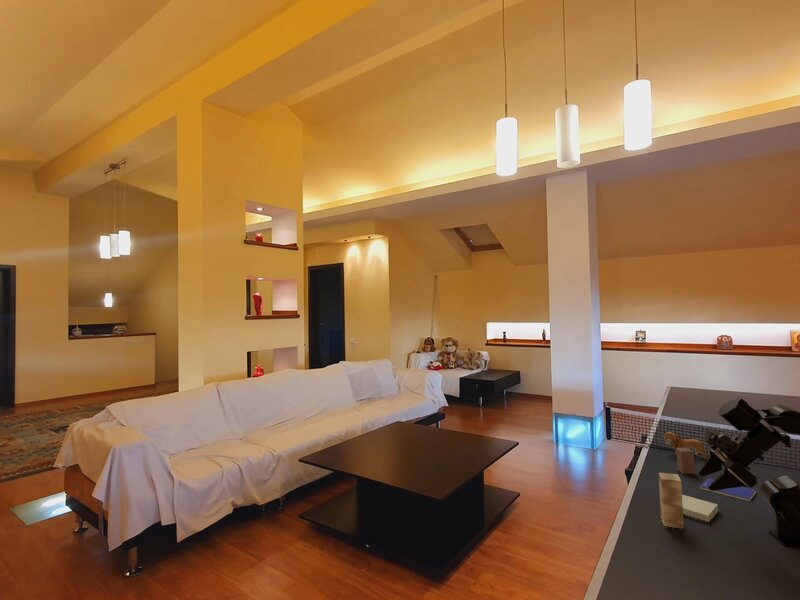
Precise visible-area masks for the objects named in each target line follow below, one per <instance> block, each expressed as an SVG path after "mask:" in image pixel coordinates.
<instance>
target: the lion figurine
mask: <svg viewBox="0 0 800 600" xmlns="http://www.w3.org/2000/svg"><path fill="white" fill-rule="evenodd" d="M663 439H664V440H663V441H664V443H666V445H668V446H670V448H673V449H674V450H675V452H673V454H674V455H676V448H688V449H690V450H691V449H694V452H695V453H694V454H695V455H696V456H697V455H698V454H701V455H702V457H704V458H706V459H707V457H708V456H709V454H707V451H706V449H705V446H704V444H703V443H702V442H701V441H700V440H699V439H694V438H693V439H692V438H691V439H690V438H689V439H685V438H682V436H680V435H679V434H676V433H675V432H672V431H667V432H665V433H664V437H663Z"/></svg>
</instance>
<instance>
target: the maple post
mask: <svg viewBox="0 0 800 600" xmlns="http://www.w3.org/2000/svg"><path fill="white" fill-rule="evenodd" d="M682 484H683V483H682V480H681V478H680V477H679V475H678V474H677V473H666V472H658V485H659V487H658V488H659V505H660V520H661V519H662V520H661V522H663V523H662V525H663V524H664V525H663V527H664V526H669V527H676V528H678V527H679V528H684V529H685V527H684V515H683V504H682V495H683V490H682V489H683V486H682Z"/></svg>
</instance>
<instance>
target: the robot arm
mask: <svg viewBox="0 0 800 600" xmlns="http://www.w3.org/2000/svg"><path fill="white" fill-rule="evenodd" d="M717 414H718V415H719V417H721V418H722V419H724V420H725V421H726V422H727V423H729V424H730V425H731V426H732V427H733V428H734V429H736V430H737V431H739V432H743V431H744V434H743V435H741V436H739V435H738V434H737V435H733V436H732V437H730V435H726V434H724V433H722V432H719V431H716V430H714V429H712V428H708V429H707V431H706V433H705V435H704V436H703V440H704V441H705V442H706V443H707V446H708V447H707V453H708V454H707V455H709V457H708V456H707V458H706V459H705V460H706V461H705V462H704V464H703V466H702V467H701V468H700V470H699V471H698V475H699V476H700V477H706V476H709V475H713V474H715V473H717V472H720V471H721V472H720V473H719V475H717V477H716V478H715V479H713V480H714V481H713V482H712V483H711V484H710V485H709V487H708V488H709V489H710V490H711V491H716V490H722V489H728V488H735V487H745V488H748V487H749V489H752V488H753V487H755V486H756V485H757V484H758V477H757V476H756V475H755V474H754V473H753V472H752V471H751V470H752V468H751V467H749V466H751V465H752V464H753V463H754V462H756V461H757V460H759V461H760V462H762V461H763V460H764V459H765V457H764V455H765V454H766V453H768V452H769V451H771V450H772V449H773V448H774V447H776V446H777V445H779V444H780V443H781V444H783V445H784V446H786V447H787V448H789V449H790V448H792V444H791V436H790V434H791V435H792V434H793V435H800V409H796V408H793V407H791V406H787V405H784V404H776V405H774V406H772V407H770V408H763V409H754V408H753V407H752V406H751V405H749V403H748V402H747V401H746V400H744V398H742V397H737V398H736V399H733V400H730V401H728V402H726V403H724V404H723V405H722V406H721V407H720V408H719V410H718V411H717ZM761 421H763V422H764V423H766V424H767V425H765V424H763V423H762V422H761ZM776 428H778V429H779V430H781V431H783V432H784V433H781V432H780V431H779V430H778V429H776ZM767 479H768V480H765V481H764V482H762V483H761V486H760V487H759V488H760V489H759V492H760V495H761V497H762V498H763V499H764V500H765V501H766V502H767V504H769V505H770V507H771V508H772V509H773V510H774V511H773V513H774V515H773V516H774V529H775V530H773V529H771V530H770V529H769V530H768V534H770V535H771V536H772V537H774V538H775V540H777V541H778V542H780V543H781V544H782V545H783V546H785V547H793V548H795V547H796V548H797V547H798V548H799V547H800V481H797V480H796V481H795V480H793V479H792V478H791V477H790V476H789V475H787V474H786V475H781V476H779V477H768V478H767ZM711 491H710V492H711Z"/></svg>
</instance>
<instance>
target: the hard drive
mask: <svg viewBox="0 0 800 600" xmlns="http://www.w3.org/2000/svg"><path fill="white" fill-rule="evenodd" d="M714 480H715V479H713V478H707V479H705V481H704V482H702V483H701V485H700V487H699V488H700V490H703V491H704V490H705V491H707V492H712V493H714V494H715V493H716V494H718V495H719V494H720V495H723V496H728V497H731V498H735V499H738V500H743V501H746V502H751V500H752V499H753V497H754V496H755V495H756V494H757V493H756V492H757V490H756V489H752V488H750V487H749V488H748V487H735V488H728V489H722V490H716V491H711V490H710V489H709V488H708V487H709V485H710V484H711V483H712V482H713V481H714Z"/></svg>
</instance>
